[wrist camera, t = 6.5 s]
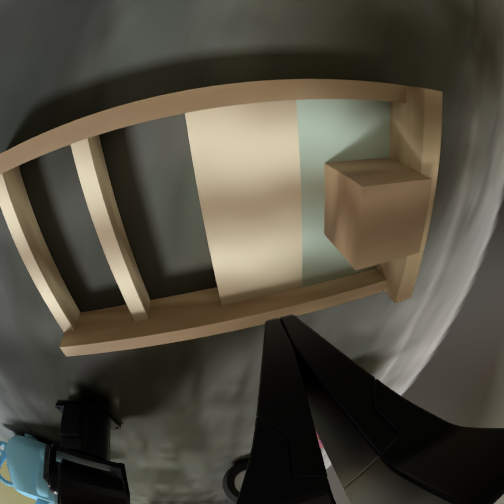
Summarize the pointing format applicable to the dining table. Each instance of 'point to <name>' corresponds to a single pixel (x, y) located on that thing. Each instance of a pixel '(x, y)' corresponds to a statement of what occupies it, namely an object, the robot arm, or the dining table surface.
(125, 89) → the dining table surface
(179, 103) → the board
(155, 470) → the dining table surface
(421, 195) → the walnut block
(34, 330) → the dining table surface
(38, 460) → the decorative pot
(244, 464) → the portable speaker
